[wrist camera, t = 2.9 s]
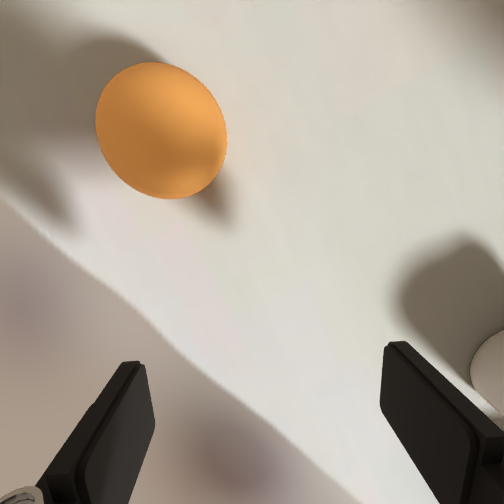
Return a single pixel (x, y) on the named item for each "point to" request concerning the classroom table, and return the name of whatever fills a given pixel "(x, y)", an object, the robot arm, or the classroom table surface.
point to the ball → (161, 130)
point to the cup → (490, 371)
